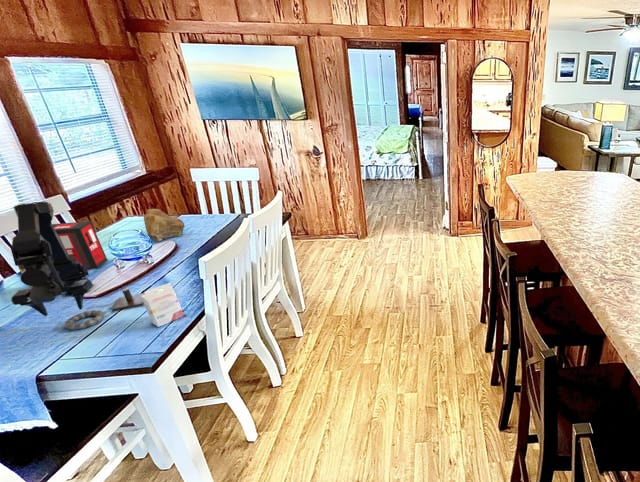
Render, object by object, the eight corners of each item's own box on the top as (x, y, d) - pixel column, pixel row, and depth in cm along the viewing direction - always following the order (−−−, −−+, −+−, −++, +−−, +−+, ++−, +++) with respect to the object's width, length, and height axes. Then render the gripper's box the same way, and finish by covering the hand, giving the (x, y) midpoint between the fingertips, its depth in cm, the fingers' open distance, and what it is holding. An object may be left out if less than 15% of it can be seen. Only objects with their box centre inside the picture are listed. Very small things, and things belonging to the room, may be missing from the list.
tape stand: (112, 311, 147) (106, 297, 144) (119, 299, 154) (113, 286, 152) (142, 305, 151) (137, 292, 148) (147, 294, 158) (142, 281, 155)
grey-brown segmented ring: (61, 333, 134) (58, 329, 133) (72, 318, 142) (70, 313, 142) (100, 326, 139) (97, 321, 138) (109, 311, 147) (107, 306, 146)
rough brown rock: (187, 241, 207) (181, 214, 202) (146, 246, 198) (140, 218, 192) (186, 229, 224) (181, 204, 219) (149, 232, 215) (142, 206, 210)
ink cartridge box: (178, 312, 147) (165, 278, 141) (184, 316, 145) (172, 282, 139) (151, 323, 141) (137, 288, 134) (157, 327, 138) (143, 292, 132)
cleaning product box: (51, 273, 172) (30, 232, 163) (63, 264, 179) (44, 224, 171) (97, 268, 177) (79, 228, 168) (107, 260, 184) (90, 221, 176)
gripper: (-9, 291, 119) (15, 332, 126) (71, 278, 127) (90, 317, 134) (9, 275, 128) (31, 314, 135) (83, 264, 136) (101, 301, 143)
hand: (64, 312), depth 136 cm, fingers open, 9 cm apart
